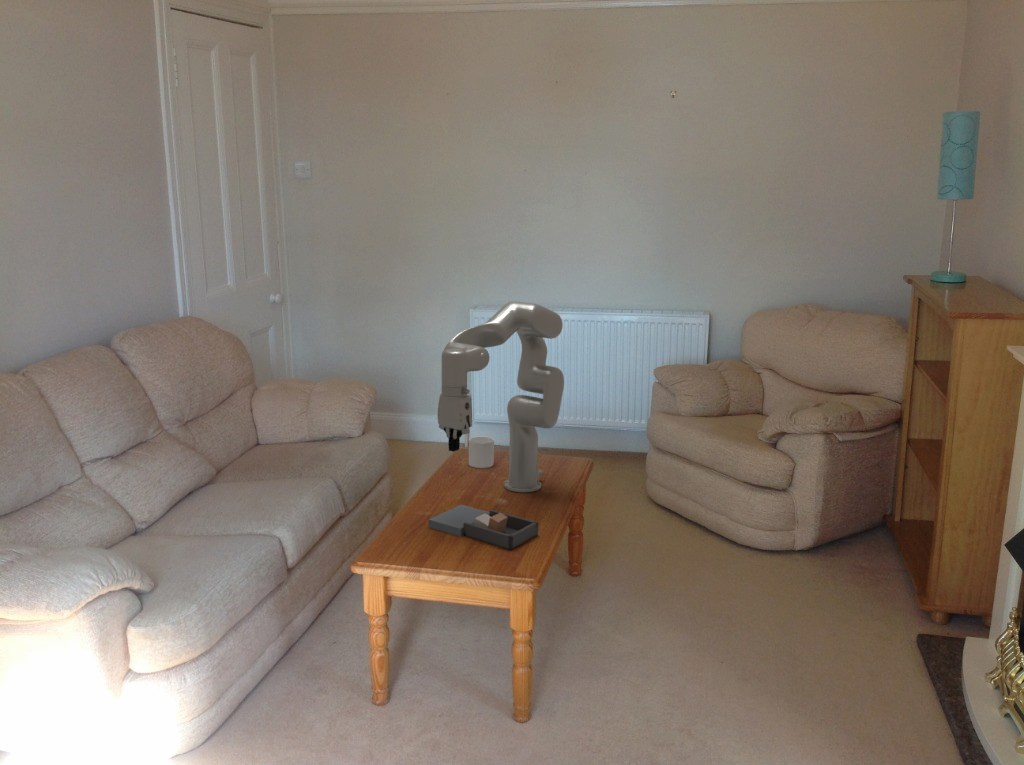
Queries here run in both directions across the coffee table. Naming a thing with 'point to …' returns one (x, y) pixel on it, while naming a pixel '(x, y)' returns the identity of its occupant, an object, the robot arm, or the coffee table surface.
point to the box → (511, 538)
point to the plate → (455, 519)
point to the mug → (481, 452)
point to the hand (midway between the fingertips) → (454, 450)
